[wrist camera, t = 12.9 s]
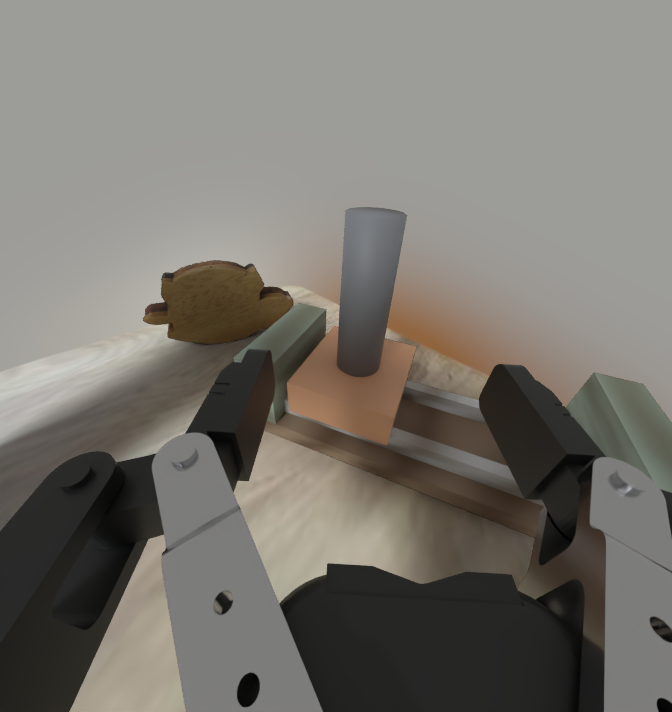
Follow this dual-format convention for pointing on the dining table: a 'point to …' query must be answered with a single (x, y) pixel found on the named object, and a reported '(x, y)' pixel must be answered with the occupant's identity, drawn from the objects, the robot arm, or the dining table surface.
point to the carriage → (359, 336)
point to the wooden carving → (216, 303)
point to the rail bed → (461, 432)
